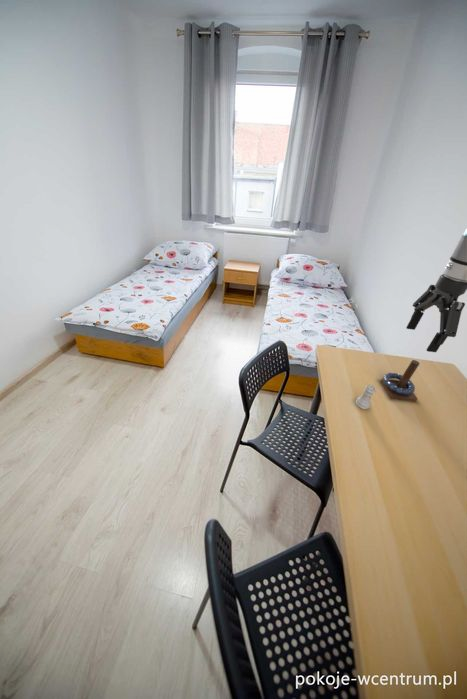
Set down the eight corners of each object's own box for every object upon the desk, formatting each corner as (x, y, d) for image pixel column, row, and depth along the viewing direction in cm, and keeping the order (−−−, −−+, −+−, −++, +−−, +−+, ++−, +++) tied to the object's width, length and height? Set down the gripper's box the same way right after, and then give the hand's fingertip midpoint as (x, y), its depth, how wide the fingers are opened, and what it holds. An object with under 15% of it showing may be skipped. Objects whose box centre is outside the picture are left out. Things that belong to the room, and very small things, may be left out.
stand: (403, 384, 104) (422, 355, 96) (415, 401, 96) (436, 372, 88) (380, 381, 103) (396, 352, 96) (390, 398, 96) (408, 369, 88)
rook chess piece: (352, 403, 92) (361, 385, 88) (359, 398, 95) (368, 380, 90) (364, 411, 90) (374, 394, 85) (371, 406, 92) (381, 388, 87)
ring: (405, 377, 104) (408, 373, 103) (418, 397, 96) (421, 393, 95) (378, 374, 104) (380, 370, 103) (388, 393, 96) (391, 389, 95)
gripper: (421, 262, 89) (393, 319, 102) (471, 293, 69) (428, 360, 81) (444, 265, 89) (413, 322, 102) (501, 297, 69) (453, 363, 81)
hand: (420, 339), depth 91 cm, fingers open, 13 cm apart
